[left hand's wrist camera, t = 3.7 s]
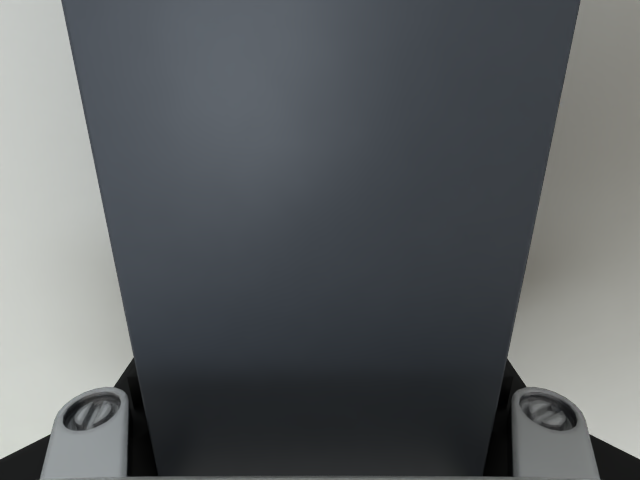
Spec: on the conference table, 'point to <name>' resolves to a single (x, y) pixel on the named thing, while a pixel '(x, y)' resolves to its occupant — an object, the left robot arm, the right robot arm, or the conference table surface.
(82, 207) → the conference table surface
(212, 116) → the post
